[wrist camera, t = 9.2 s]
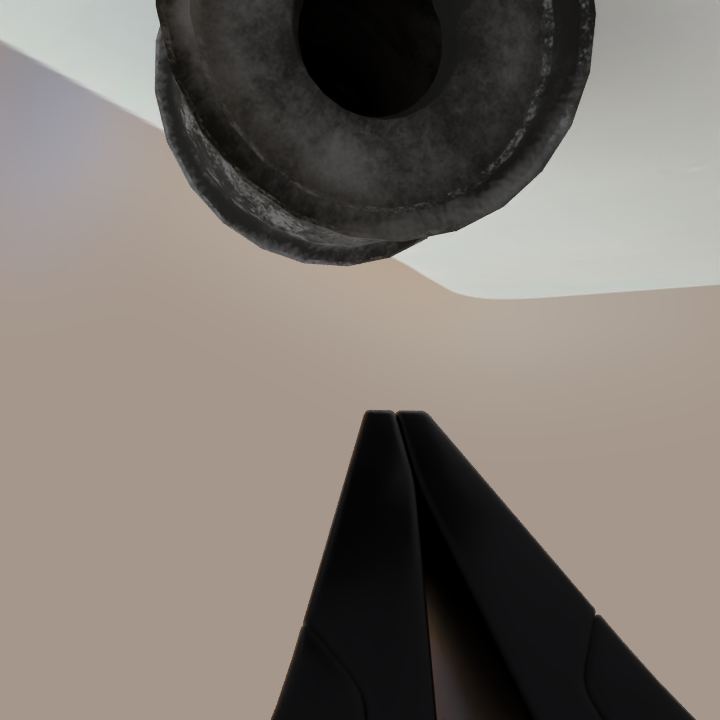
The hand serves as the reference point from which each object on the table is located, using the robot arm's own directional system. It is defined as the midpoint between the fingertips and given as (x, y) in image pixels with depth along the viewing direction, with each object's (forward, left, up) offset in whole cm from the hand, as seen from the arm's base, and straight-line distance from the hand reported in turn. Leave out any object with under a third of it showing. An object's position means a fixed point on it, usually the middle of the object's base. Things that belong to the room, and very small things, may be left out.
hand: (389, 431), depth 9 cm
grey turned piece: (0, -2, -5) cm, 5 cm away
